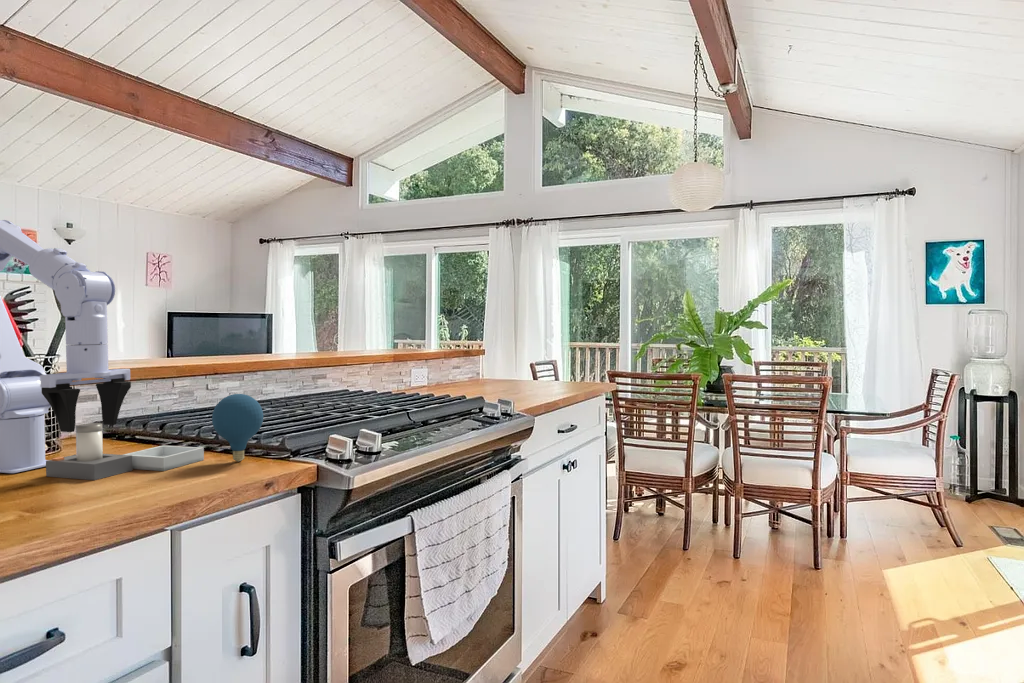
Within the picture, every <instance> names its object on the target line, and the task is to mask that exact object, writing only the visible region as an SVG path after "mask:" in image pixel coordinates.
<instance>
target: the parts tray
mask: <svg viewBox="0 0 1024 683" xmlns="http://www.w3.org/2000/svg"><path fill="white" fill-rule="evenodd" d="M122 455H132V470H142V471H143V470H145V471H146V470H147V471H159V472H161V471H162V472H166V471H170V470H172V469H177V468H179V467H183V466H187V465H191V464H195V463H198V462H203V461H204V460H205V449H204V447H195V446H178V445H164V444H163V445H159V446H155V447H150V448H145V449H142V450H141V449H140V450H137V451H133V452H128V453H125V454H124V453H123V454H122Z"/></svg>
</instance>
